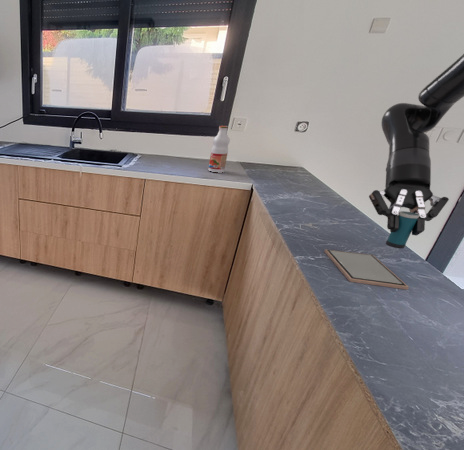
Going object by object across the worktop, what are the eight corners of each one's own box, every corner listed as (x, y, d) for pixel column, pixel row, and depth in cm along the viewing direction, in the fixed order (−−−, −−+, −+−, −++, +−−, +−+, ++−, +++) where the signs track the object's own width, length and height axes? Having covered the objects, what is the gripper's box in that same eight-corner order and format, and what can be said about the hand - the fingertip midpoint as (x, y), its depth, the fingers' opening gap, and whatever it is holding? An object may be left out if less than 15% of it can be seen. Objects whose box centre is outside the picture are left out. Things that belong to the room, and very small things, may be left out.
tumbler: (399, 243, 78) (414, 212, 74) (407, 249, 75) (422, 216, 71) (382, 241, 79) (396, 210, 75) (389, 247, 76) (404, 215, 72)
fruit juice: (226, 173, 193) (235, 126, 182) (210, 173, 194) (218, 126, 183) (220, 169, 202) (228, 125, 191) (205, 170, 203) (212, 125, 192)
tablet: (371, 257, 94) (373, 254, 94) (407, 289, 79) (409, 286, 78) (324, 251, 98) (325, 248, 98) (349, 281, 83) (350, 278, 82)
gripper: (377, 160, 78) (373, 220, 73) (458, 165, 72) (460, 232, 67) (364, 175, 85) (359, 232, 80) (437, 181, 78) (437, 244, 73)
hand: (405, 232), depth 73 cm, fingers closed on tumbler, 3 cm apart
